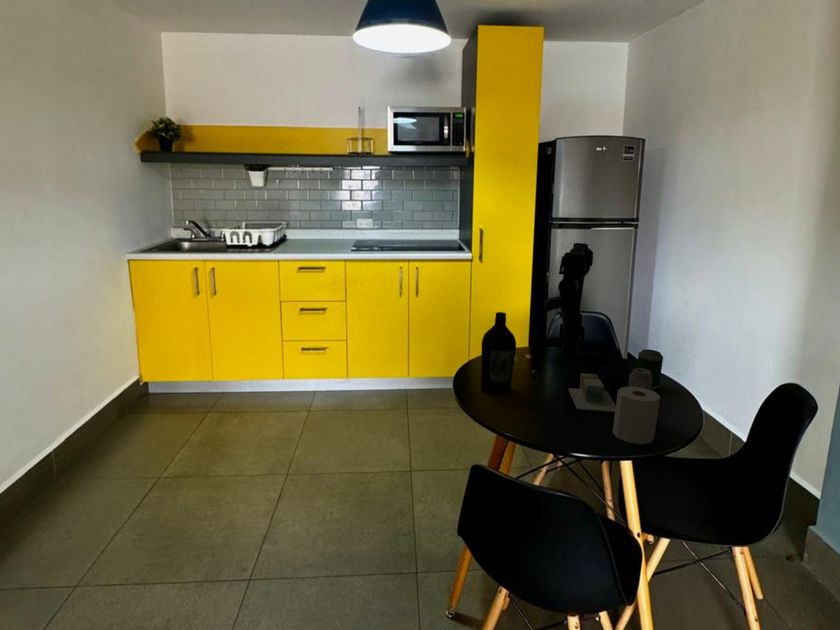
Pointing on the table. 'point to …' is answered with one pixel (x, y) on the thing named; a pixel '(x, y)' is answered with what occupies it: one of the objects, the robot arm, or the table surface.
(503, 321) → the olive oil
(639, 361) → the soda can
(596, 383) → the birch block
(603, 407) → the rubber mat
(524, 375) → the table surface
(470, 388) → the table surface
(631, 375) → the energy drink can
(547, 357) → the table surface
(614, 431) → the toilet paper
